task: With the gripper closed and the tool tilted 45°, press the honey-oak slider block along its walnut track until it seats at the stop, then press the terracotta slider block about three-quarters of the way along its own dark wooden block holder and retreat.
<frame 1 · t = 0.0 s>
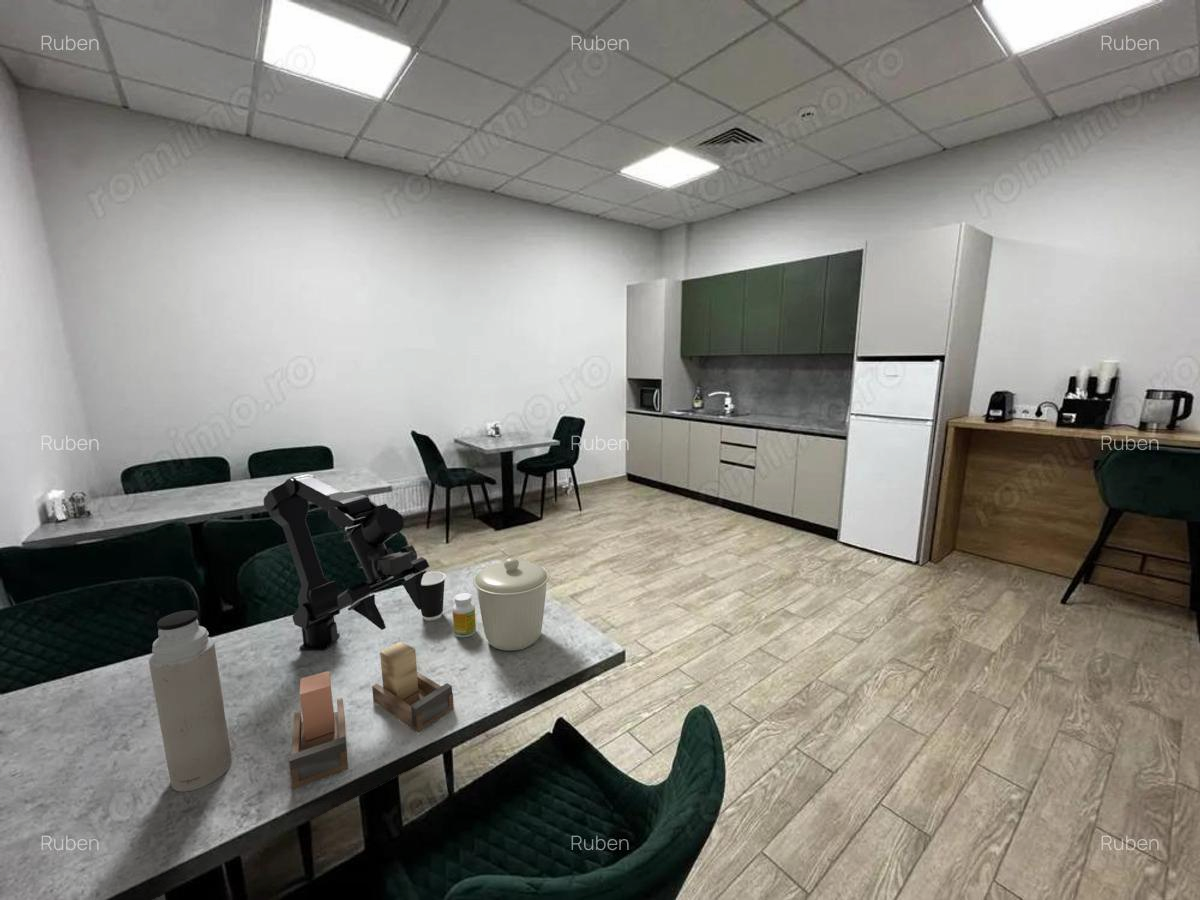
hand: (403, 618, 101), 15 cm above the table, tool tilted 35°, fingers open, 9 cm apart
canister: (514, 639, 121), on the table
dark wooden block holder: (320, 733, 90), on the table
supplement bottle: (465, 633, 124), on the table
oak slider: (399, 671, 99), point 6 cm above the table, slide at 0.0 cm
dixie cup: (432, 616, 132), on the table
terracotta slider: (317, 704, 89), point 6 cm above the table, slide at 0.0 cm
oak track: (401, 697, 100), on the table
thermos bottle: (202, 772, 82), on the table
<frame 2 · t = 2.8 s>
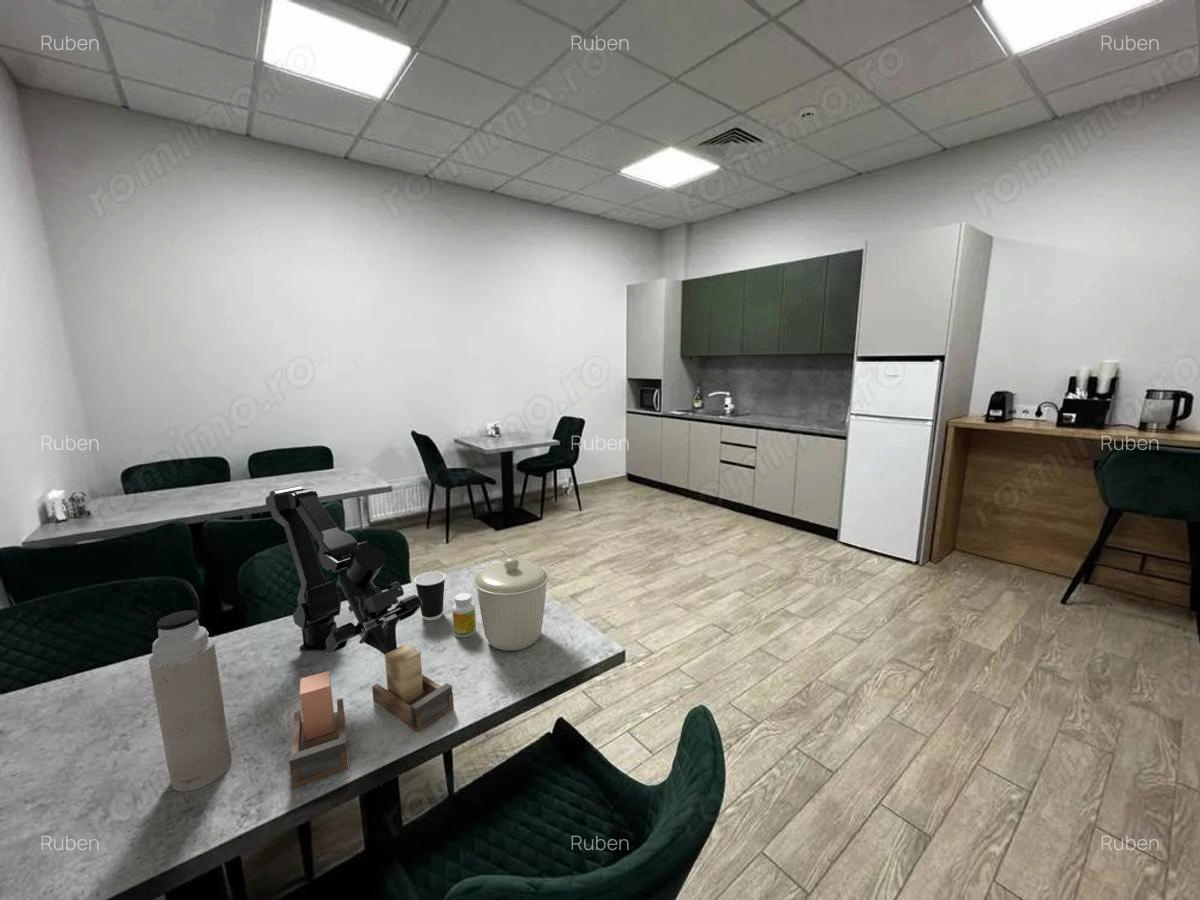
hand: (395, 658, 99), 8 cm above the table, tool tilted 45°, fingers closed, pressing on oak slider
oak slider: (404, 674, 98), point 6 cm above the table, slide at 1.7 cm, touching gripper
everything else where it was.
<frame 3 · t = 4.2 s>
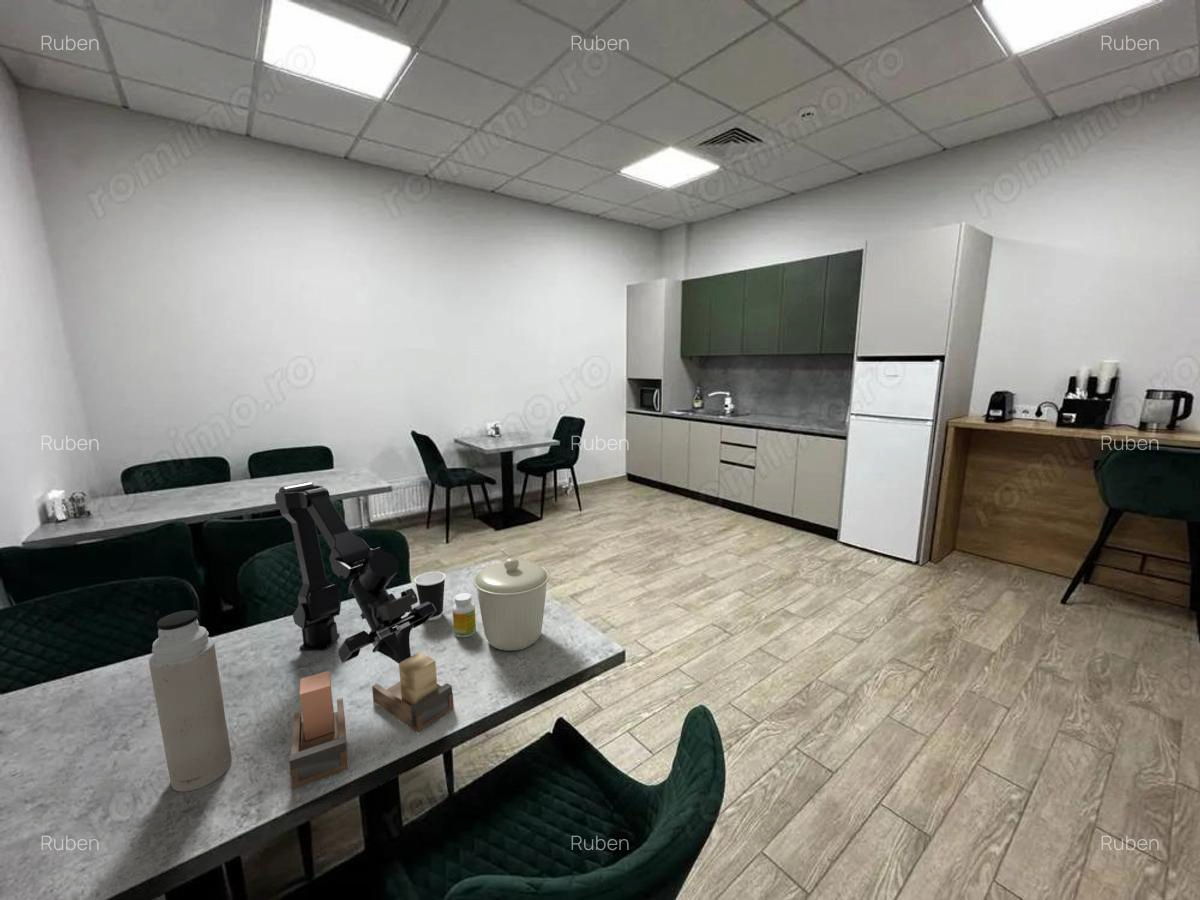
hand: (409, 667, 96), 8 cm above the table, tool tilted 45°, fingers closed, pressing on oak slider
oak slider: (418, 683, 95), point 6 cm above the table, slide at 6.5 cm, touching gripper
everything else where it was.
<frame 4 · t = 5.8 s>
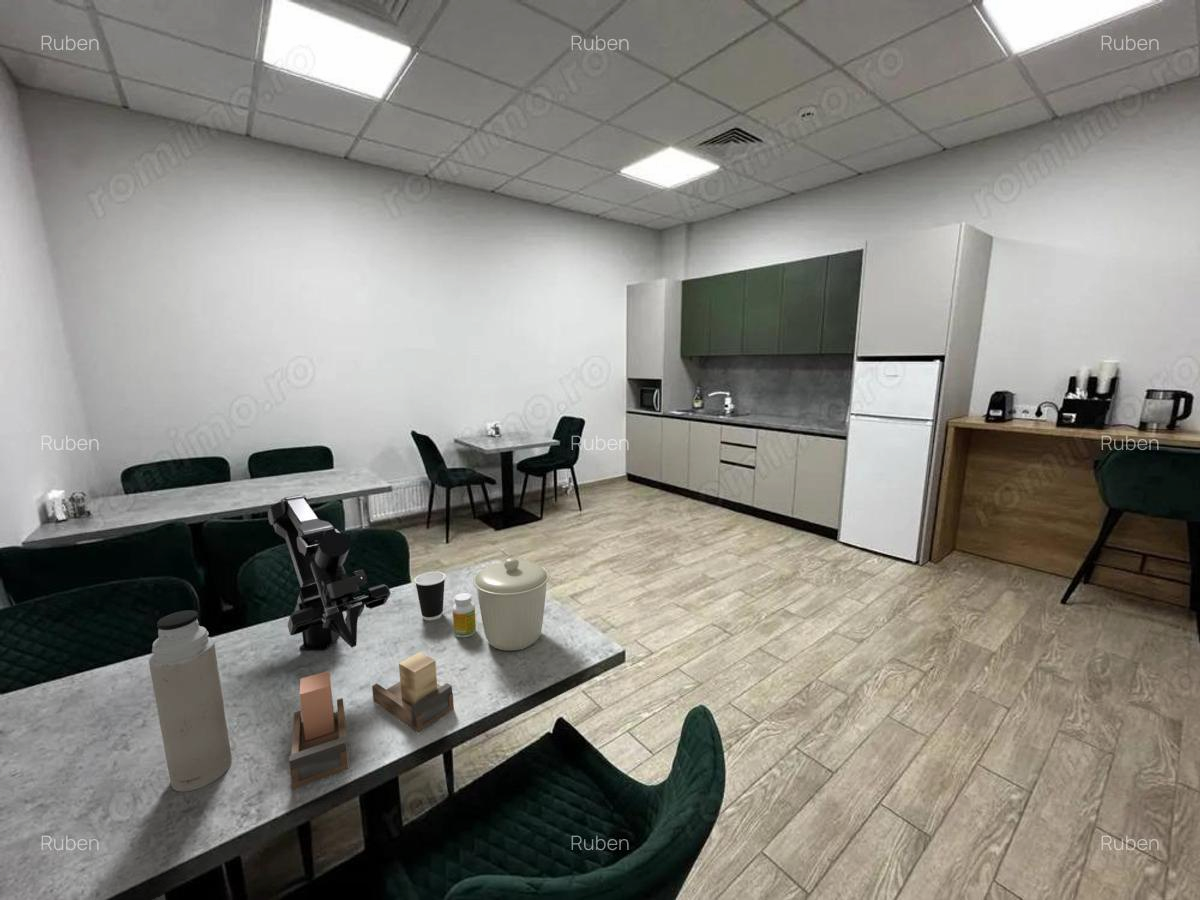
hand: (354, 646, 99), 11 cm above the table, tool tilted 45°, fingers closed
oak slider: (418, 683, 95), point 6 cm above the table, slide at 6.5 cm
everything else where it was.
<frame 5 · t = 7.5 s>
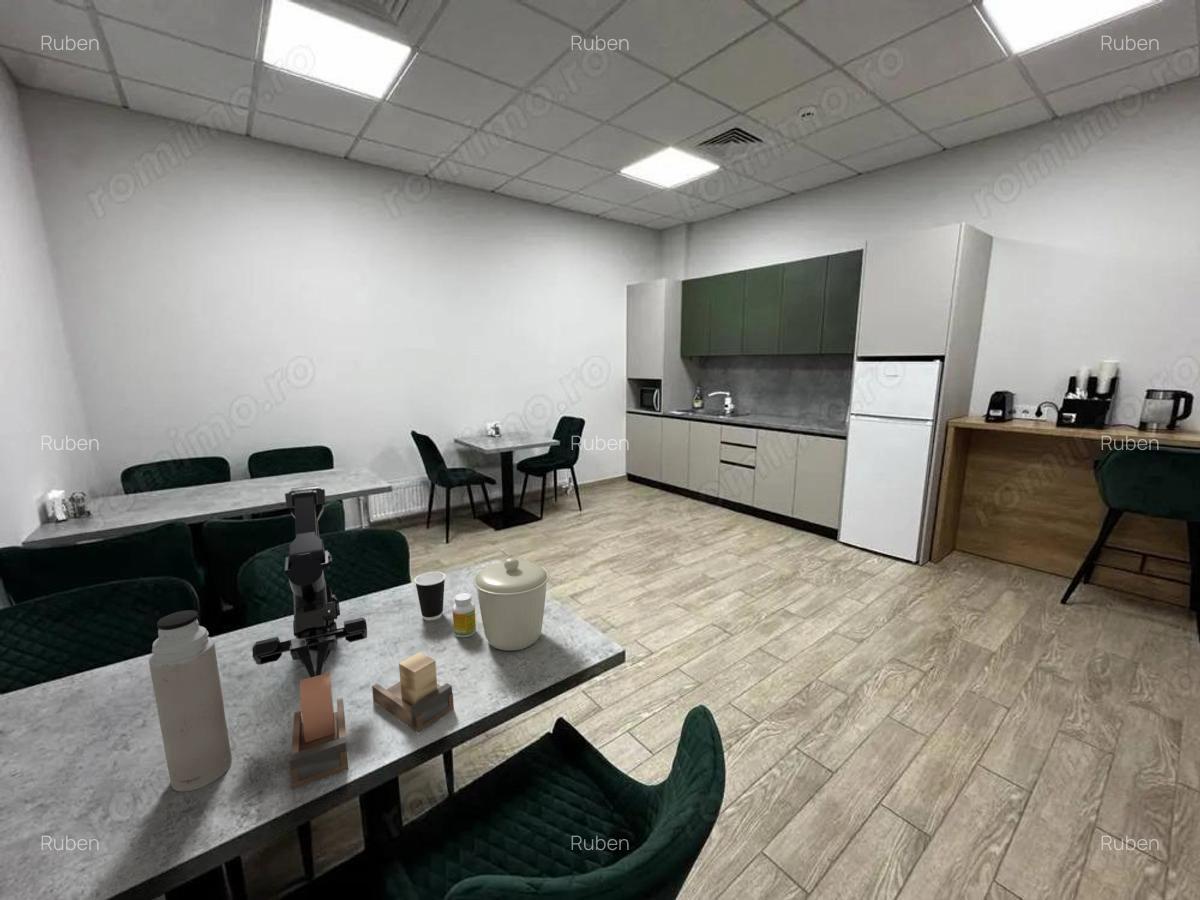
hand: (316, 686, 90), 8 cm above the table, tool tilted 45°, fingers closed, pressing on terracotta slider
terracotta slider: (317, 706, 88), point 6 cm above the table, slide at 0.6 cm, touching gripper
everything else where it was.
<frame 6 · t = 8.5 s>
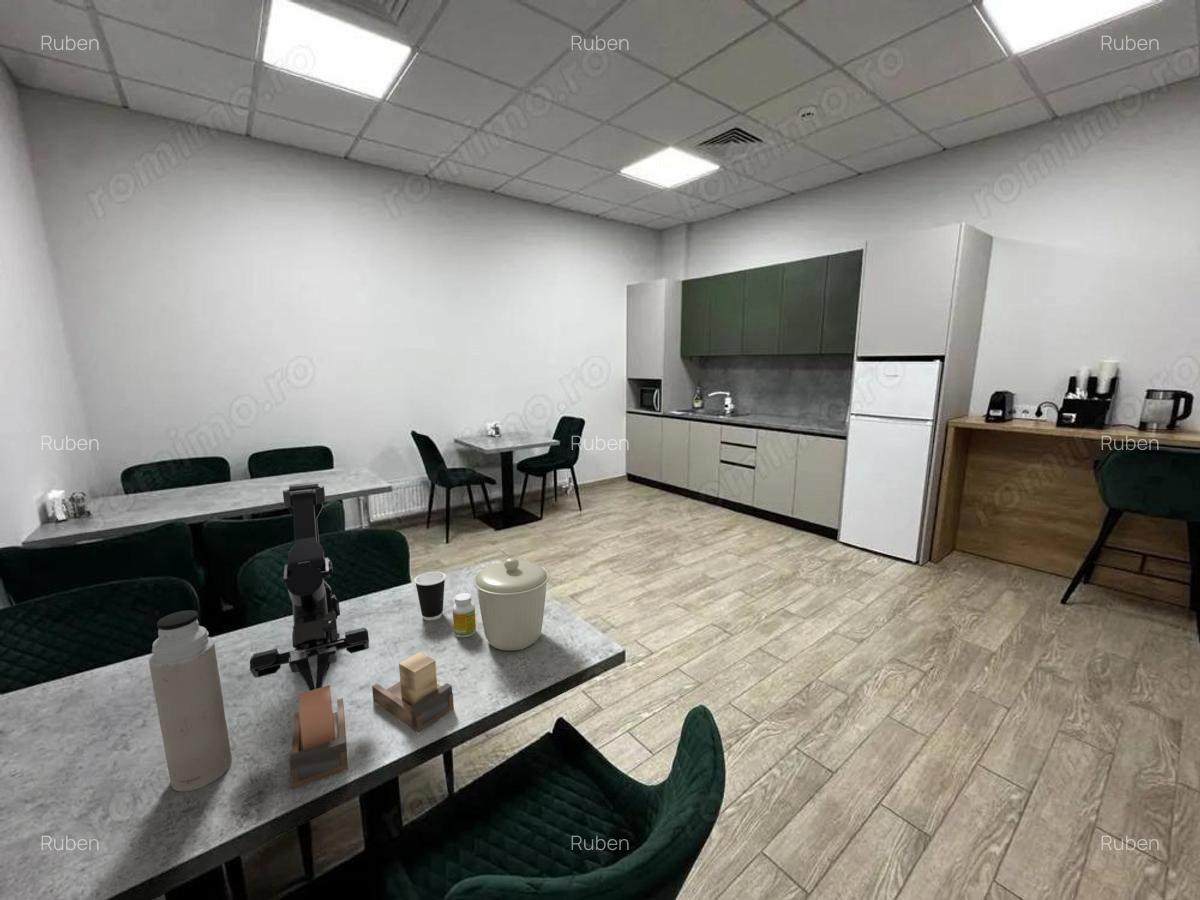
hand: (316, 699, 87), 8 cm above the table, tool tilted 45°, fingers closed
terracotta slider: (317, 721, 85), point 6 cm above the table, slide at 4.7 cm
everything else where it was.
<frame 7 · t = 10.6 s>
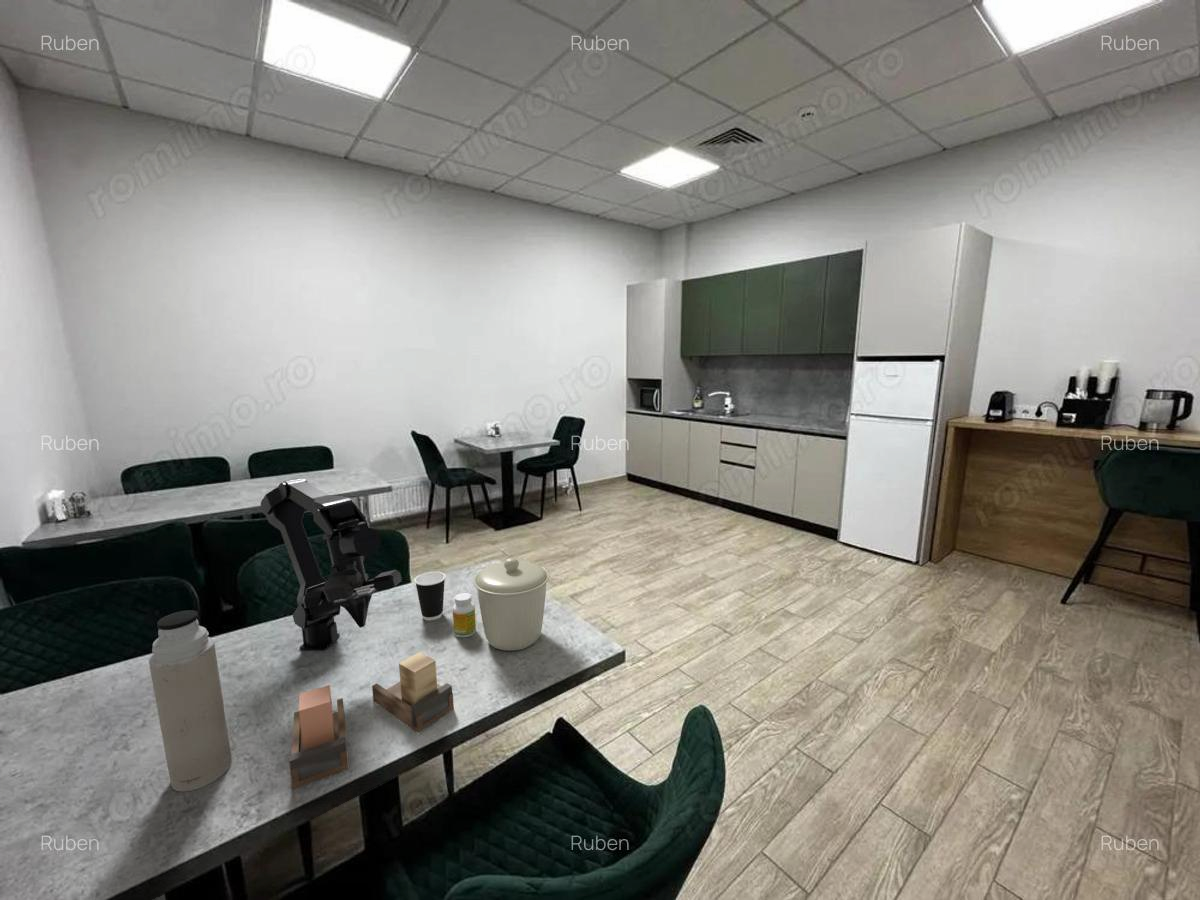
hand: (362, 626, 106), 11 cm above the table, tool pointing down, fingers closed
nothing on the table moved.
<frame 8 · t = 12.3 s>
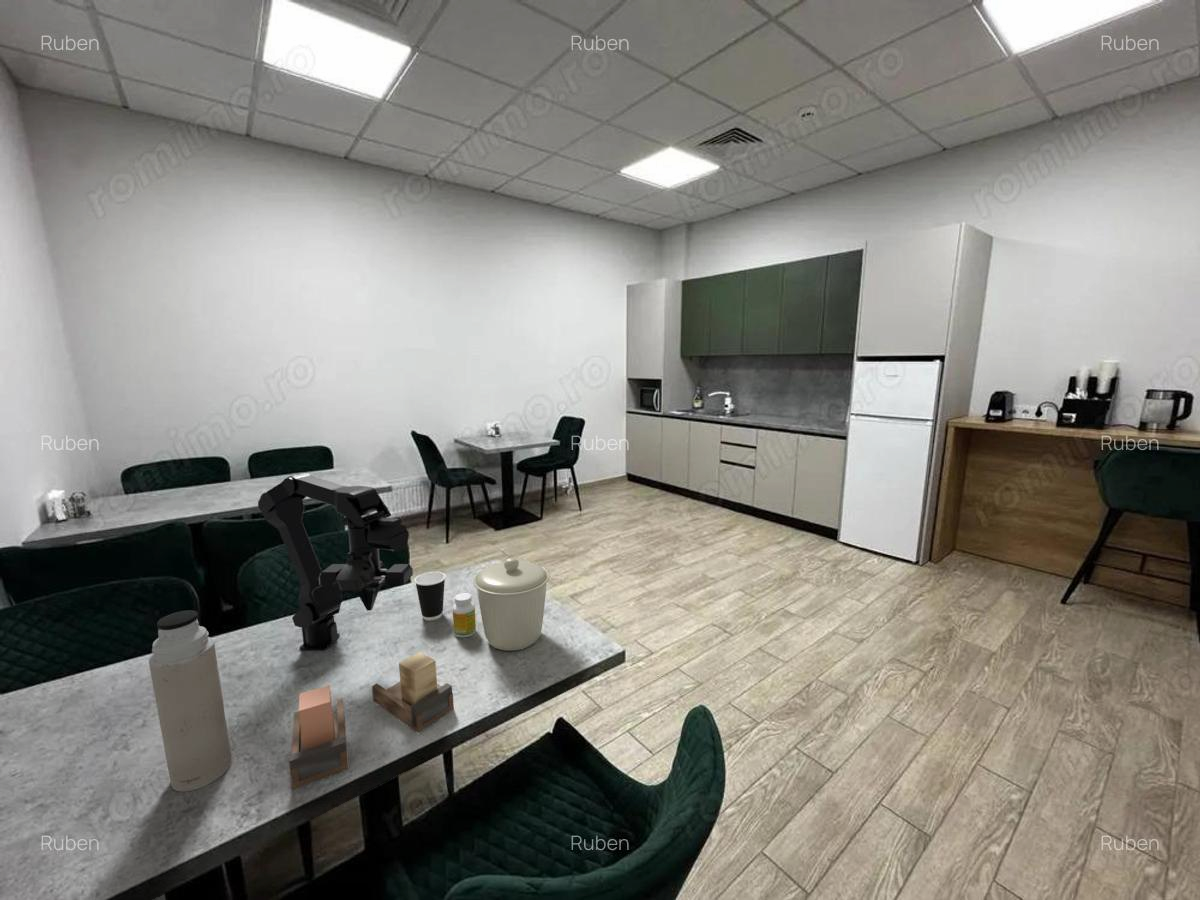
hand: (369, 609, 111), 12 cm above the table, tool pointing down, fingers closed
nothing on the table moved.
at the end: oak slider slide at 6.5 cm; terracotta slider slide at 4.7 cm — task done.
